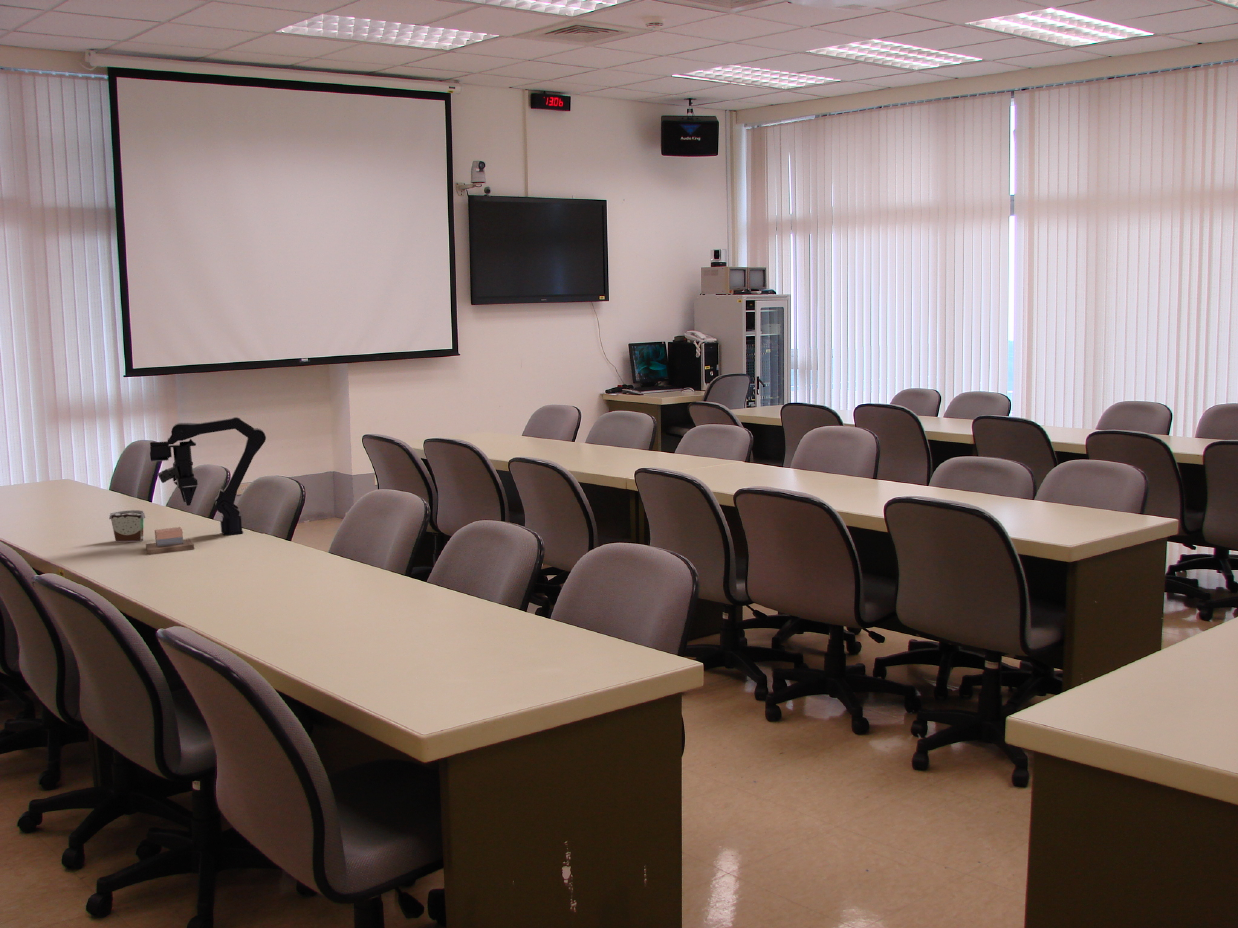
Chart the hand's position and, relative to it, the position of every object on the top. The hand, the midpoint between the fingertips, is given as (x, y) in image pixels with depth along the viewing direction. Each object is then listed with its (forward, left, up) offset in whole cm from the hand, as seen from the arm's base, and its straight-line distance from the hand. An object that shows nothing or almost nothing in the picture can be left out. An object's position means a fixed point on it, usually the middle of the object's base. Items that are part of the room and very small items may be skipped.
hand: (186, 503), depth 381 cm
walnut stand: (+8, +17, -12) cm, 22 cm away
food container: (+18, -7, -12) cm, 23 cm away
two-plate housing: (+8, +17, -11) cm, 22 cm away
